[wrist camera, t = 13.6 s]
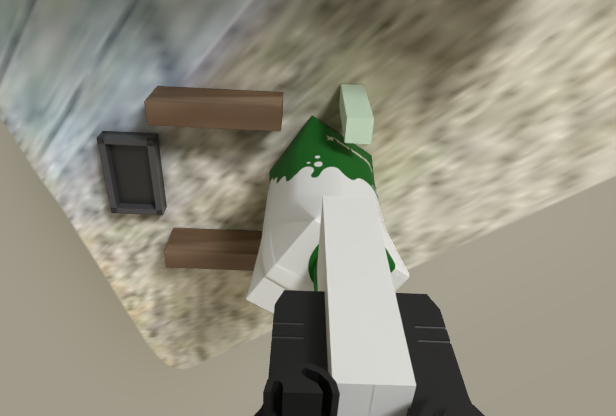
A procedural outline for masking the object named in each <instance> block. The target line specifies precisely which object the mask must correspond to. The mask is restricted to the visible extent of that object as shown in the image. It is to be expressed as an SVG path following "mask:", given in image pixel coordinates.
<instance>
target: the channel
mask: <svg viewBox="0 0 616 416" xmlns="http://www.w3.org/2000/svg"><path fill="white" fill-rule="evenodd" d="M144 103H145V111H146V118H147V125H157V126H178V127H200V128H221V129H242V130H263V131H281V124H282V115H283V92H267V91H247V90H227V89H207V88H186V87H166V86H157V87H156V88H155V90H154V91H153V92H152V93H151V94H150V96H149V97H148V98H147V99H146V100H145V101H144ZM262 232H263V231H241V230H217V229H192V228H174V229H173V231H172V234H171V236H170V238H169V241H168V243H167V246H166V248H165V250H164V253H165V261H166V267H175V268H200V269H226V270H251V271H254V267H255V263H256V259H257V255H258V252H259V248H260V244H261V239H262Z"/></svg>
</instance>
